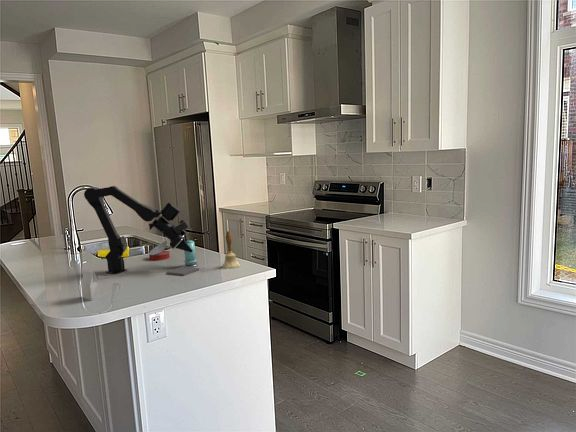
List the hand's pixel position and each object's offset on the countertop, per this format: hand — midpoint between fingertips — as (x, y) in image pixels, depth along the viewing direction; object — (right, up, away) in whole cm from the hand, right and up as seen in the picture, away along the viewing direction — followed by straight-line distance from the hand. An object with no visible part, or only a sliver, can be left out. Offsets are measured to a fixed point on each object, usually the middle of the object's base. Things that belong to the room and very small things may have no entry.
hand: (192, 250), depth 203 cm
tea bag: (-28, -14, -41) cm, 52 cm away
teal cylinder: (-1, -5, +1) cm, 5 cm away
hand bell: (+18, -7, -4) cm, 20 cm away
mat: (-2, -9, -10) cm, 13 cm away
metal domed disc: (-1, -7, +1) cm, 7 cm away
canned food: (-21, -6, +21) cm, 30 cm away
